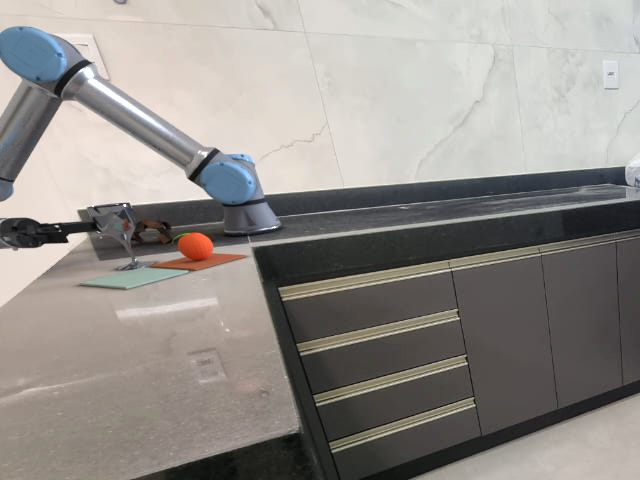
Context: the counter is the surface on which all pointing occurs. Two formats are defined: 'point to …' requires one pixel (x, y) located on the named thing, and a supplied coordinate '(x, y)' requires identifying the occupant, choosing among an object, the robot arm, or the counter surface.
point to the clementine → (195, 246)
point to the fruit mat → (197, 262)
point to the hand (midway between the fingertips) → (93, 231)
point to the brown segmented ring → (154, 225)
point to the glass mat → (134, 278)
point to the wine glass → (118, 227)
